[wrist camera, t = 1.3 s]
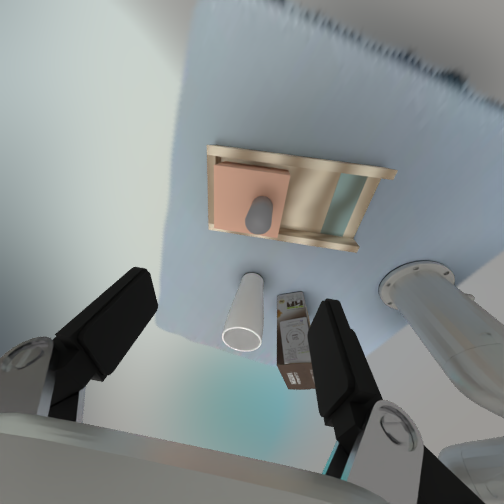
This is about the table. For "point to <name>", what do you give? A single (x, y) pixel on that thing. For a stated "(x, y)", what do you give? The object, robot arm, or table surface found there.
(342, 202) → the bay
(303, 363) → the coffee box
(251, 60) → the table surface
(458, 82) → the table surface
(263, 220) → the salmon block with knob
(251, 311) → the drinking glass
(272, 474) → the robot arm
